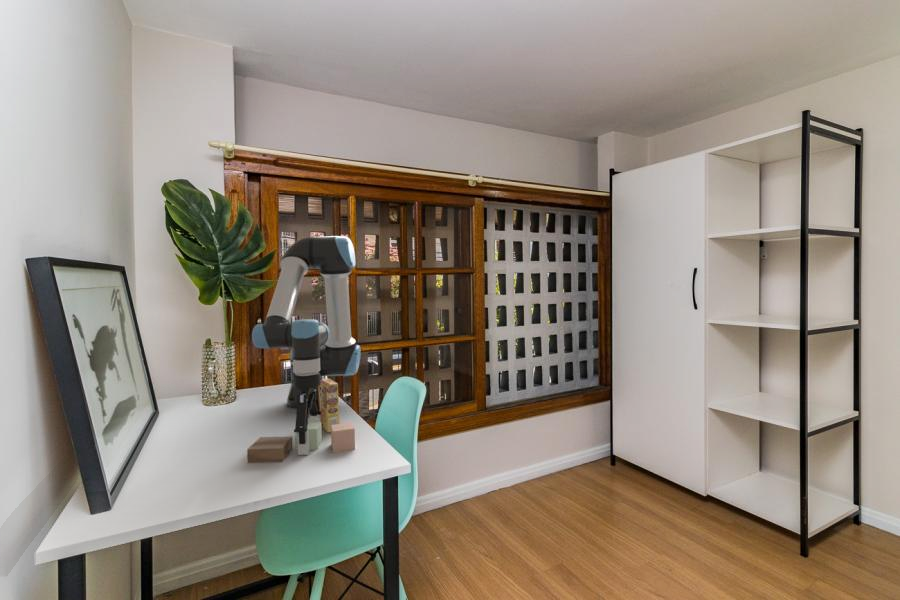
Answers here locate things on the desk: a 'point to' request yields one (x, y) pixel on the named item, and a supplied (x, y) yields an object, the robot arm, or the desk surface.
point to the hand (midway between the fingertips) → (309, 445)
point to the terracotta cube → (342, 437)
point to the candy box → (328, 403)
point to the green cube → (312, 435)
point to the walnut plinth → (269, 449)
